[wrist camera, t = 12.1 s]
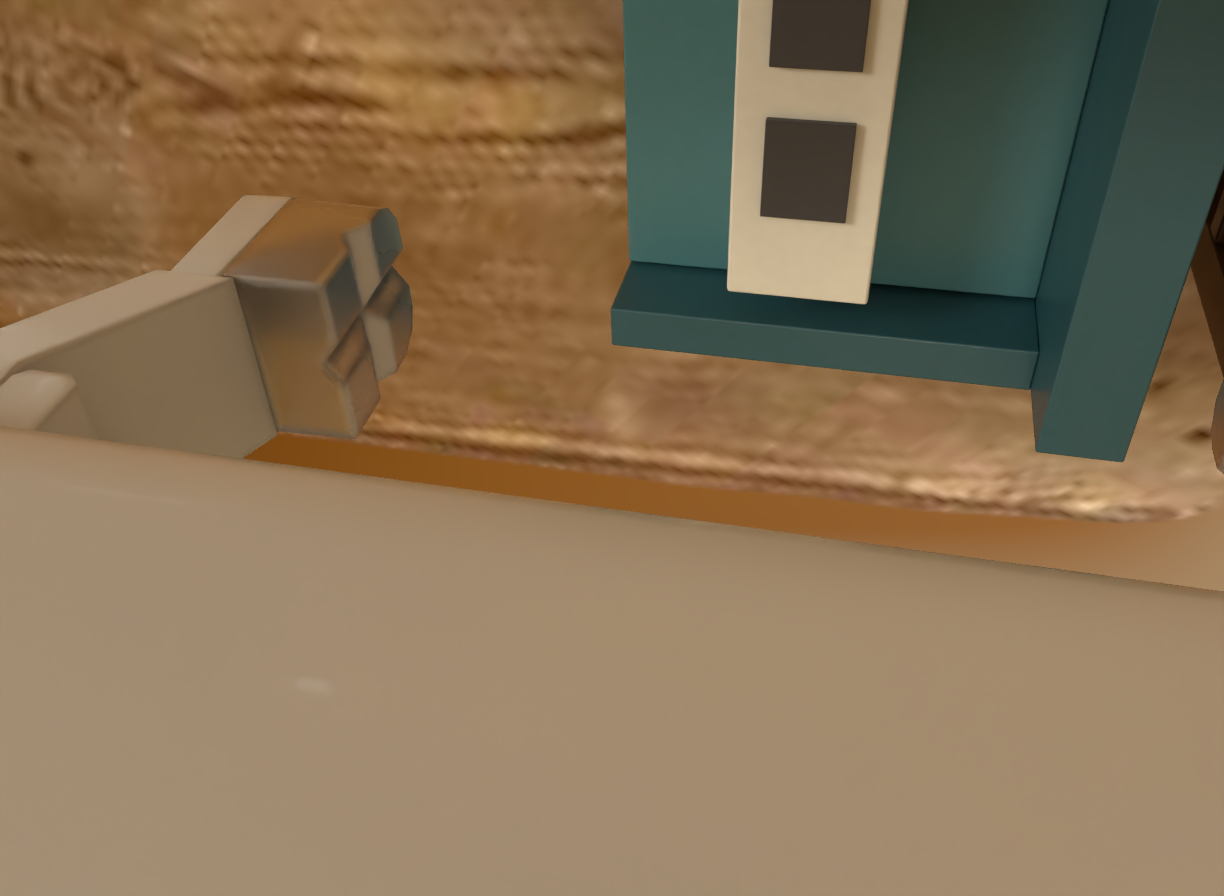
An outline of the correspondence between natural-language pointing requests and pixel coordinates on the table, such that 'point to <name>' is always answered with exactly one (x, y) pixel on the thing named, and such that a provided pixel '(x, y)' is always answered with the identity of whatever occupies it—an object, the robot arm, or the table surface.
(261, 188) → the table surface
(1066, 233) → the teal armchair
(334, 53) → the table surface
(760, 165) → the remote
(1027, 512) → the table surface
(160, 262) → the table surface
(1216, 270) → the brown wooden box
